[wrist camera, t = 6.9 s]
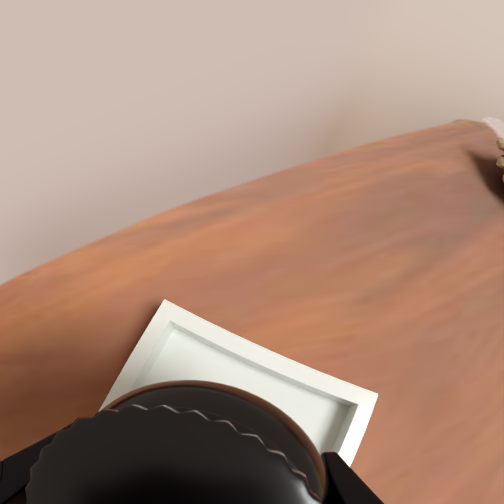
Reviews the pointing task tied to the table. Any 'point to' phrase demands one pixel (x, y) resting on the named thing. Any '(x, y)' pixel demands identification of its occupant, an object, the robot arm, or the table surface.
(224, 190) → the table surface
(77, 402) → the table surface
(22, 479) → the robot arm
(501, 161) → the mineral formation
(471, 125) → the table surface
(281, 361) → the ceramic tray
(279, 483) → the supplement bottle
